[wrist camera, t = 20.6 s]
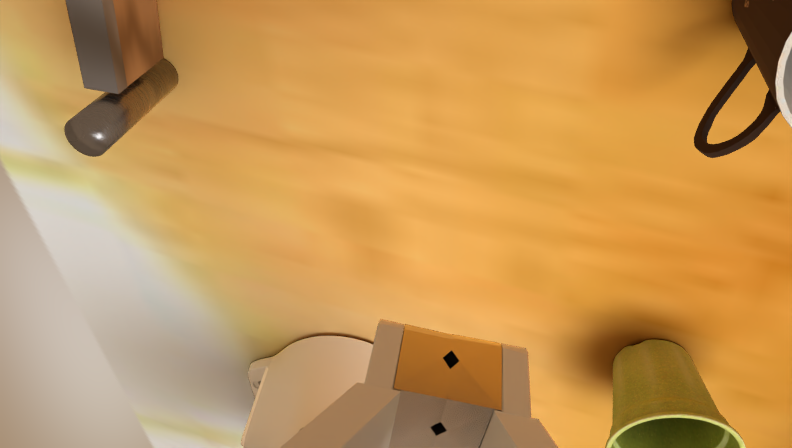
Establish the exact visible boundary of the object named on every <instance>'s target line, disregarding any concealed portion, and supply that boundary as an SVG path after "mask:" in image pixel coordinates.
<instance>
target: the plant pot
mask: <svg viewBox="0 0 792 448" xmlns="http://www.w3.org/2000/svg"><path fill="white" fill-rule="evenodd" d="M605 448H746V447H745V444H744V442H743V439H742V438H741V436H740V435H739V433H738V432H737V431H736V430H735V429H734V428H732V427H731V426H730V425H729V424H728V422H727V421H726V419H725V418H724V417H723V416H722V415H721V414H720V413H719V411H718V409H717V407H716V405H715V404H714V402H713V400H712V398H711V396H710V394H709V392H708V390H707V388H706V386H705V384H704V382H703V381H702V379H701V377H700V375H699V373H698V371H697V369H696V367H695V365H694V363H693V361H692V359H691V357H690V356H689V354H688V353H687V352H686V351H685V349H684V348H682V347H681V346H679V345H677V344H675V343H673V342H669V341H665V340H645V341H643V342H642V343H640V344H637V345H633V346H626V347H625V348H623V349H622V350H621V351H620V352H619V353H618V354H617V355H616V357H615V359H614V361H613V425H612V427H611V430H610V437H609V438H608V440H607V443H606V446H605Z"/></svg>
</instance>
